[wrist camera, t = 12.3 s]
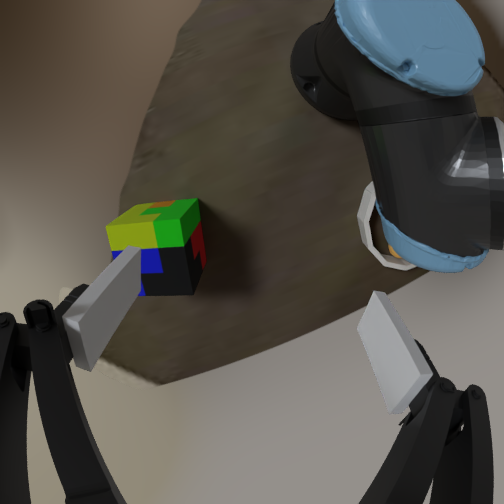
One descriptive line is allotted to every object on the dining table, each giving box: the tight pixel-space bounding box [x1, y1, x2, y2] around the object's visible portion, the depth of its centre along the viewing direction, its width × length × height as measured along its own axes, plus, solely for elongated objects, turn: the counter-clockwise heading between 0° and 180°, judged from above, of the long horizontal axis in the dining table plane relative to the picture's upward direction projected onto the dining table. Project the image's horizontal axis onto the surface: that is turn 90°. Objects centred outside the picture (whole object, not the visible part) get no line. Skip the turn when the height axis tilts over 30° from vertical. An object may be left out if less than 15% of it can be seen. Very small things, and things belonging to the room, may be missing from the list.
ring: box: [357, 181, 417, 270], centre depth 39 cm, size 16×16×3 cm
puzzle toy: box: [106, 198, 207, 296], centre depth 38 cm, size 10×10×10 cm
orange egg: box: [388, 244, 401, 258], centre depth 40 cm, size 4×4×4 cm
